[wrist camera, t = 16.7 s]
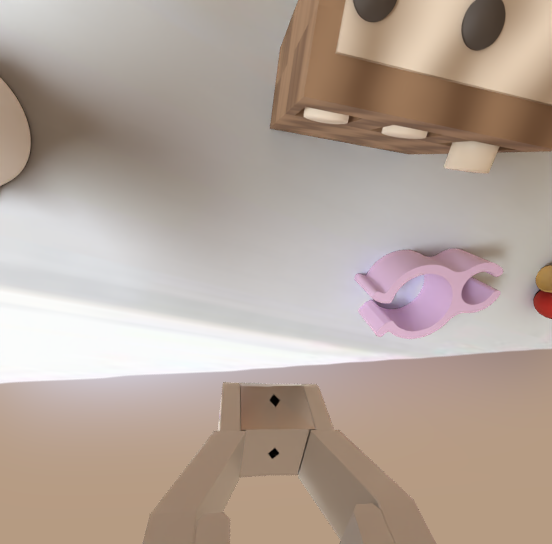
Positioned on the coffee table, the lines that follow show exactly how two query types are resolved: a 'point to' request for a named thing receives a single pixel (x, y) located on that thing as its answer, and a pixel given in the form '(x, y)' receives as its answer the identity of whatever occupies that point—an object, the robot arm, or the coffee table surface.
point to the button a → (325, 116)
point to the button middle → (404, 132)
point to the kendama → (544, 292)
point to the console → (419, 72)
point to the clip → (425, 290)
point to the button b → (471, 156)
